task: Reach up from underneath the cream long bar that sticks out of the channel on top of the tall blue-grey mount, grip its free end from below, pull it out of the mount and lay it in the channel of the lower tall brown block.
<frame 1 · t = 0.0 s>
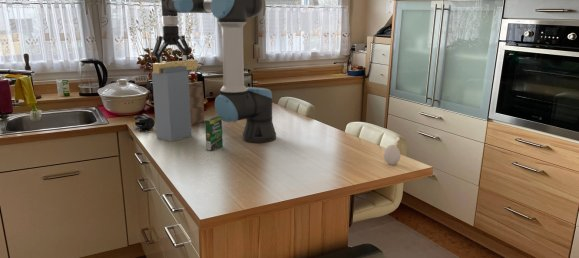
hand: (173, 69, 220), 28 cm above the counter, tool pointing down, fingers open, 13 cm apart
cream long bar: (176, 70, 199), point 30 cm above the counter, touching mount
mount: (174, 136, 204), on the counter
egg: (391, 164, 167), on the counter
coffee box: (214, 149, 186), on the counter
tall brown block: (190, 121, 232), on the counter
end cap: (145, 129, 218), on the counter
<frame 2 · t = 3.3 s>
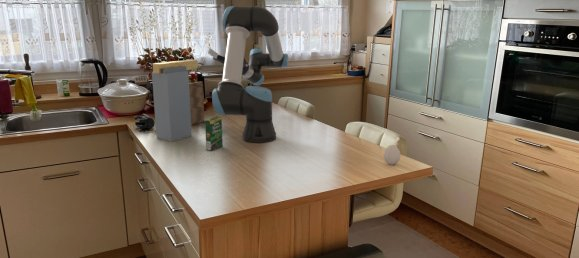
hand: (218, 51, 220), 37 cm above the counter, tool pointing upward, fingers open, 13 cm apart
nothing on the counter moved.
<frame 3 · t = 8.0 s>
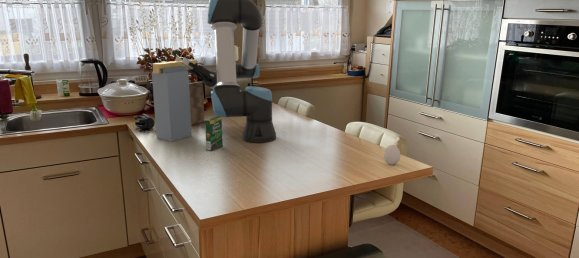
hand: (179, 59, 200), 35 cm above the counter, tool pointing upward, fingers closed on cream long bar, 4 cm apart
cream long bar: (176, 70, 199), point 30 cm above the counter, touching gripper, mount
everything else where it was.
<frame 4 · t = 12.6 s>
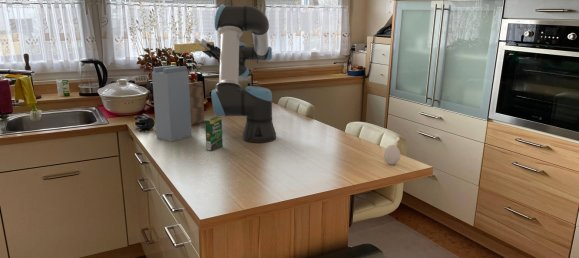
hand: (198, 41, 217), 42 cm above the counter, tool pointing upward, fingers closed on cream long bar, 4 cm apart
cream long bar: (195, 51, 217), point 37 cm above the counter, touching gripper
everything else where it was.
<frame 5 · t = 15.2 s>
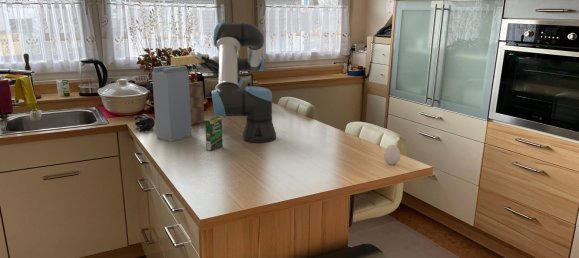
hand: (193, 54, 227), 35 cm above the counter, tool pointing upward, fingers closed on cream long bar, 4 cm apart
cream long bar: (190, 63, 227), point 30 cm above the counter, touching gripper
everything else where it was.
when the fingers open (25 cm above the counter, at t = 17.5 s): cream long bar drops 2 cm, resting on tall brown block.
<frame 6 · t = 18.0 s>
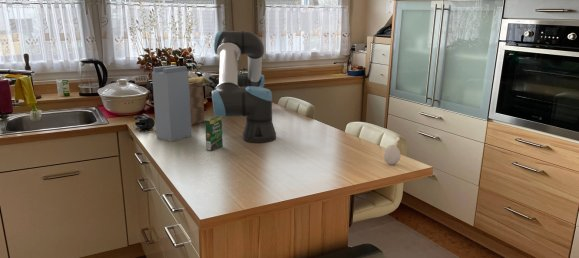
hand: (196, 74, 230), 25 cm above the counter, tool pointing upward, fingers open, 11 cm apart
cream long bar: (191, 86, 229), point 18 cm above the counter, touching tall brown block
everything else where it was.
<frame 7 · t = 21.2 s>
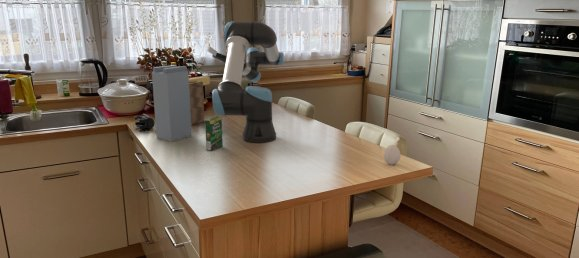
hand: (217, 48, 232), 37 cm above the counter, tool pointing upward, fingers open, 13 cm apart
nothing on the counter moved.
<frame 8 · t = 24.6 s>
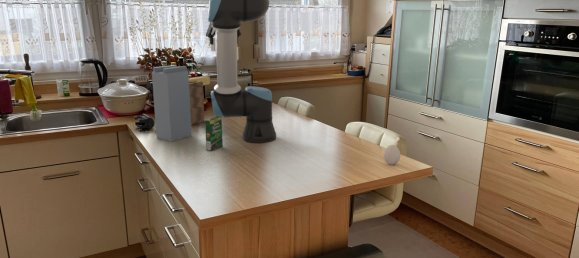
hand: (224, 50, 226), 37 cm above the counter, tool pointing down, fingers open, 13 cm apart
nothing on the counter moved.
at the end: cream long bar inside the target area on the tall brown block (0.7 cm from its centre), point 18.5 cm above the tall brown block's base; cream long bar point 18.5 cm above the counter; the gripper is holding nothing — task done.
